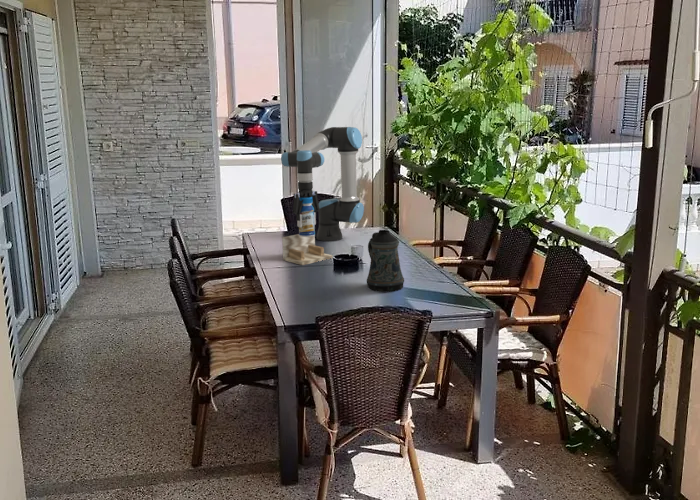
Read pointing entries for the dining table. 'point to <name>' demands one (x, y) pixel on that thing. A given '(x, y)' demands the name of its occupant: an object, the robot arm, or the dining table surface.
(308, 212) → the beverage bottle
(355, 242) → the dining table surface
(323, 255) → the wooden display stand
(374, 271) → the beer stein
